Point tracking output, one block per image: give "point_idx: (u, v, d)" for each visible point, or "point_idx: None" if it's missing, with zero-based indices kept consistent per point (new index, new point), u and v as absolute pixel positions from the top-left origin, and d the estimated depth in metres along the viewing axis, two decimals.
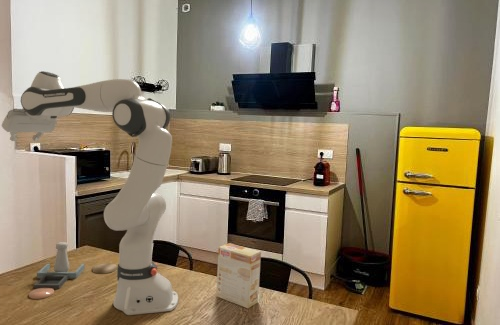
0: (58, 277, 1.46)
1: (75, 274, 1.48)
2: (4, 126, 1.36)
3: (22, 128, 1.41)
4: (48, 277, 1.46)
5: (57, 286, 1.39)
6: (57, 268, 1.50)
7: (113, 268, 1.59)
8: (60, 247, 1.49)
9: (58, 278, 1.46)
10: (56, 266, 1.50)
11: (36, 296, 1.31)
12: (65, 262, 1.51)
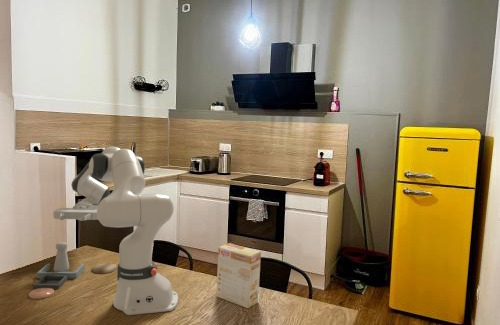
0: (58, 277, 1.46)
1: (75, 274, 1.48)
2: None
3: (67, 210, 1.68)
4: (48, 277, 1.46)
5: (57, 286, 1.39)
6: (57, 268, 1.50)
7: (113, 268, 1.59)
8: (60, 247, 1.49)
9: (58, 278, 1.46)
10: (56, 266, 1.50)
11: (36, 296, 1.31)
12: (65, 262, 1.51)
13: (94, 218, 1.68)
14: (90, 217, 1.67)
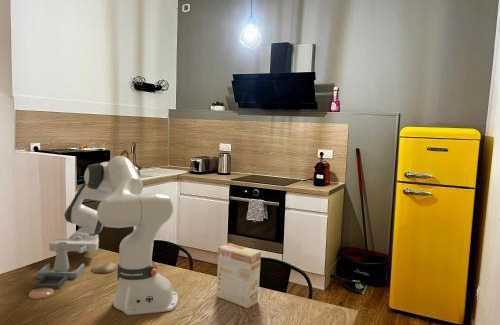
0: (58, 277, 1.46)
1: (75, 274, 1.48)
2: None
3: None
4: (48, 277, 1.46)
5: (57, 286, 1.39)
6: (57, 268, 1.50)
7: (114, 267, 1.60)
8: (60, 247, 1.49)
9: (58, 278, 1.46)
10: (56, 266, 1.50)
11: (36, 296, 1.31)
12: (65, 262, 1.51)
13: (91, 250, 1.64)
14: (87, 249, 1.63)
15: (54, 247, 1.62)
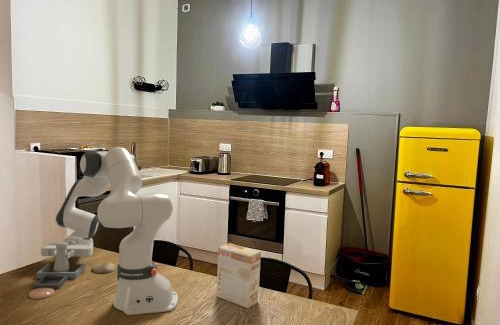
0: (58, 277, 1.46)
1: (75, 274, 1.48)
2: None
3: None
4: (48, 277, 1.46)
5: (57, 286, 1.39)
6: (57, 268, 1.50)
7: (115, 266, 1.61)
8: (60, 247, 1.49)
9: (58, 278, 1.46)
10: (56, 266, 1.50)
11: (36, 296, 1.31)
12: (65, 262, 1.51)
13: (85, 255, 1.57)
14: (74, 254, 1.55)
15: (46, 252, 1.55)
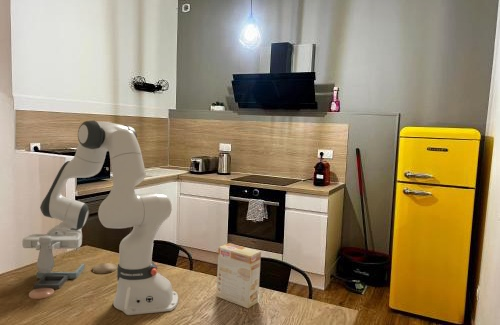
0: (58, 277, 1.46)
1: (75, 274, 1.48)
2: None
3: None
4: (48, 277, 1.46)
5: (57, 286, 1.39)
6: (39, 265, 1.33)
7: (114, 265, 1.62)
8: (42, 240, 1.33)
9: (58, 278, 1.46)
10: (39, 262, 1.33)
11: (36, 296, 1.31)
12: (49, 258, 1.34)
13: (72, 247, 1.40)
14: (59, 246, 1.38)
15: (28, 244, 1.38)
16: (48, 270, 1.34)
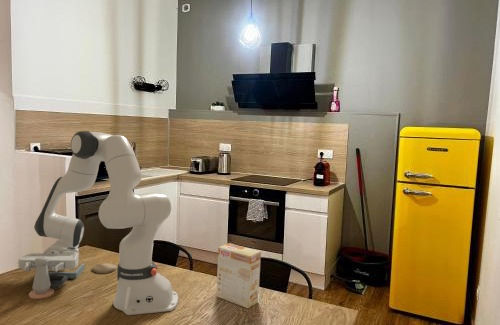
0: (58, 277, 1.46)
1: (75, 274, 1.48)
2: None
3: None
4: None
5: (57, 286, 1.39)
6: (35, 287, 1.31)
7: (113, 264, 1.63)
8: (38, 262, 1.31)
9: (58, 278, 1.46)
10: (34, 284, 1.31)
11: (36, 296, 1.31)
12: (45, 280, 1.32)
13: (68, 267, 1.38)
14: (63, 266, 1.37)
15: (24, 264, 1.36)
16: (44, 292, 1.33)
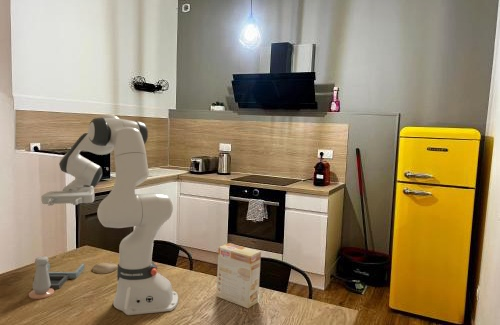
0: (58, 277, 1.46)
1: (75, 274, 1.48)
2: None
3: (56, 194, 1.54)
4: None
5: (57, 286, 1.39)
6: (35, 287, 1.31)
7: (110, 263, 1.63)
8: (38, 262, 1.31)
9: (58, 278, 1.46)
10: (34, 284, 1.31)
11: (36, 296, 1.31)
12: (45, 280, 1.32)
13: (86, 201, 1.55)
14: (82, 201, 1.53)
15: (47, 200, 1.52)
16: (44, 292, 1.33)
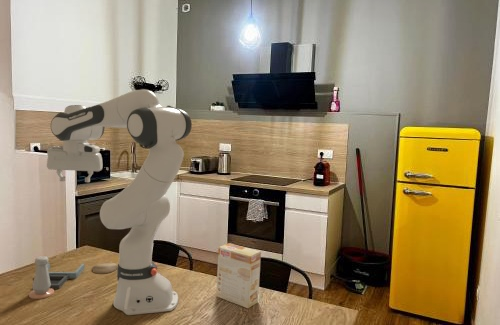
0: (58, 277, 1.46)
1: (75, 274, 1.48)
2: None
3: (62, 165, 1.44)
4: None
5: (57, 286, 1.39)
6: (35, 287, 1.31)
7: (108, 263, 1.63)
8: (38, 262, 1.31)
9: (58, 278, 1.46)
10: (34, 284, 1.31)
11: (36, 296, 1.31)
12: (45, 280, 1.32)
13: None
14: (92, 172, 1.47)
15: None
16: (44, 292, 1.33)
